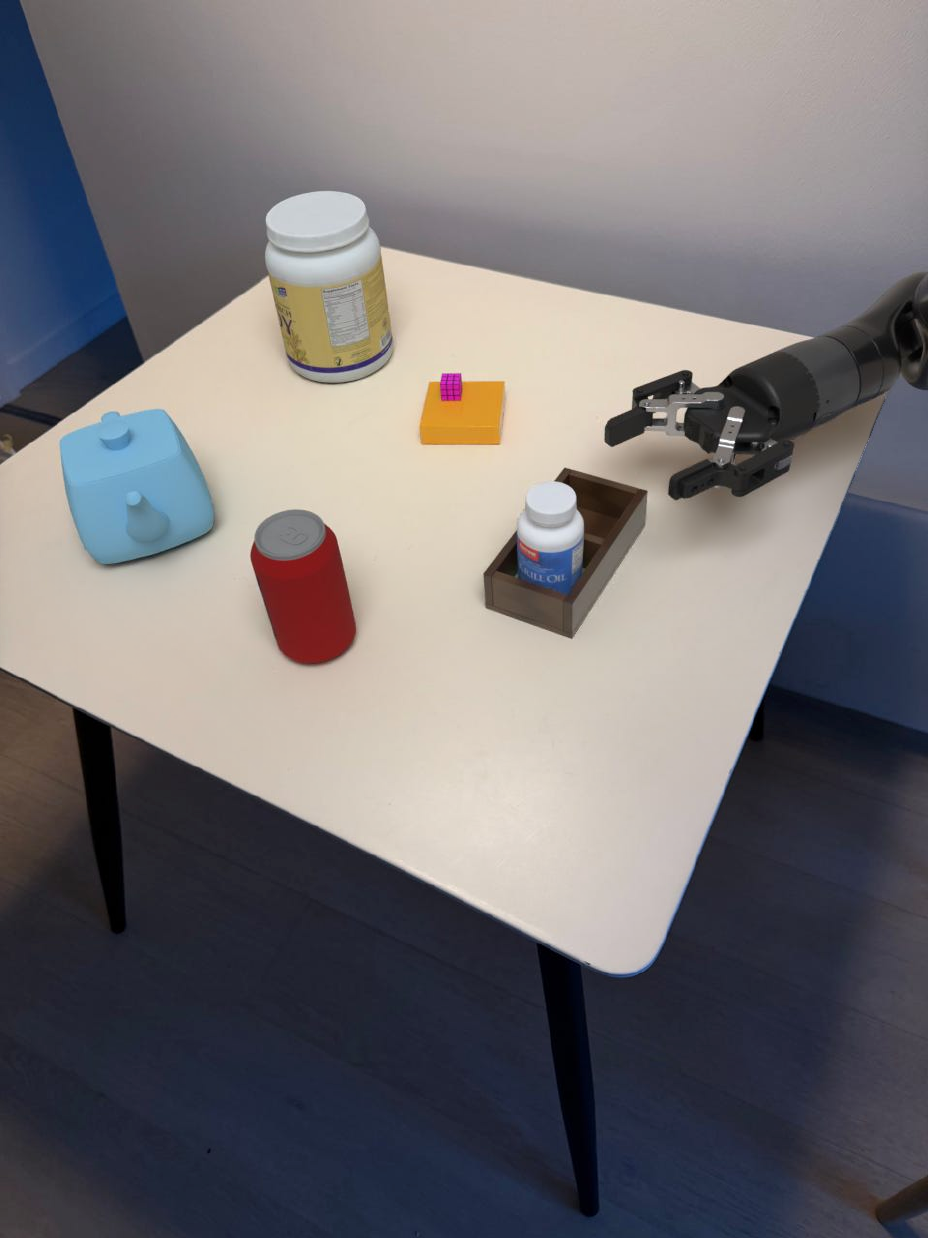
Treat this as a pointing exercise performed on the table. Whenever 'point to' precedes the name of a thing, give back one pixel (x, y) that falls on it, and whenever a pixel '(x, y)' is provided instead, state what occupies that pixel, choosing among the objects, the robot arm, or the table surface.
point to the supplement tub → (328, 286)
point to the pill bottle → (550, 537)
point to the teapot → (134, 486)
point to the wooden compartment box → (607, 540)
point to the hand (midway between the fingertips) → (638, 461)
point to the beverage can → (303, 586)
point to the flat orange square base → (463, 411)
